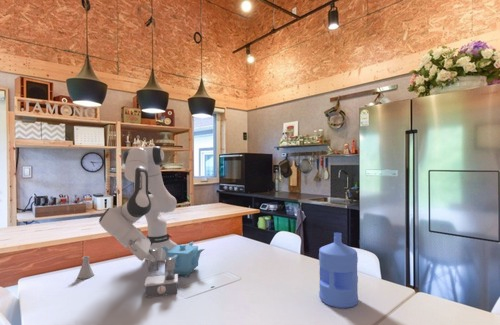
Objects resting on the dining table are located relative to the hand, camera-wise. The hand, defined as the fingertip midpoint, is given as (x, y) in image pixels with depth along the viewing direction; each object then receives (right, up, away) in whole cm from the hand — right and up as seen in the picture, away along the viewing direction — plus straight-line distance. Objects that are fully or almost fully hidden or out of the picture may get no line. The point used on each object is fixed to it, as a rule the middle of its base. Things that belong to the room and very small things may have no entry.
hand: (154, 258), depth 127 cm
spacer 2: (+6, -10, +2) cm, 12 cm away
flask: (-42, -16, +19) cm, 49 cm away
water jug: (+80, -15, -8) cm, 82 cm away
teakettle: (+7, -16, +24) cm, 30 cm away
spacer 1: (-1, -5, 0) cm, 5 cm away
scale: (+3, -15, +1) cm, 16 cm away
